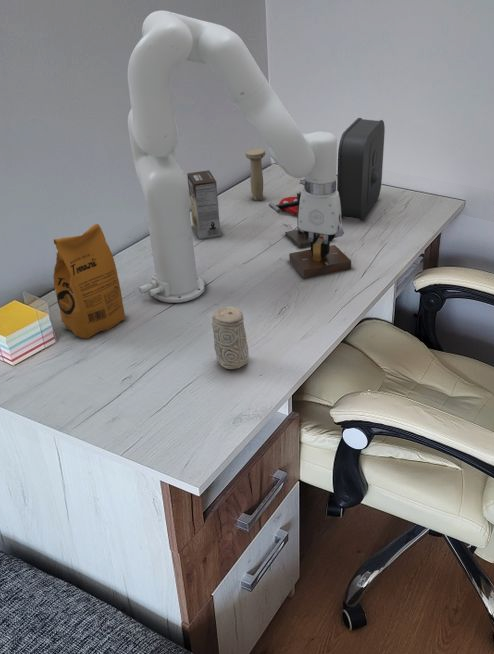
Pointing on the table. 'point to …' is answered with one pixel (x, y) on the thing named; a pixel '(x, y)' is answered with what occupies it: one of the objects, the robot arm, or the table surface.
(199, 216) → the coffee box
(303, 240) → the latch bracket
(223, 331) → the carving
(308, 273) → the plate
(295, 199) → the tracker holder
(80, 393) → the table surface
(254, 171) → the handle
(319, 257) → the thumbturn
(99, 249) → the coffee package
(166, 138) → the robot arm
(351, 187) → the speaker
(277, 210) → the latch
